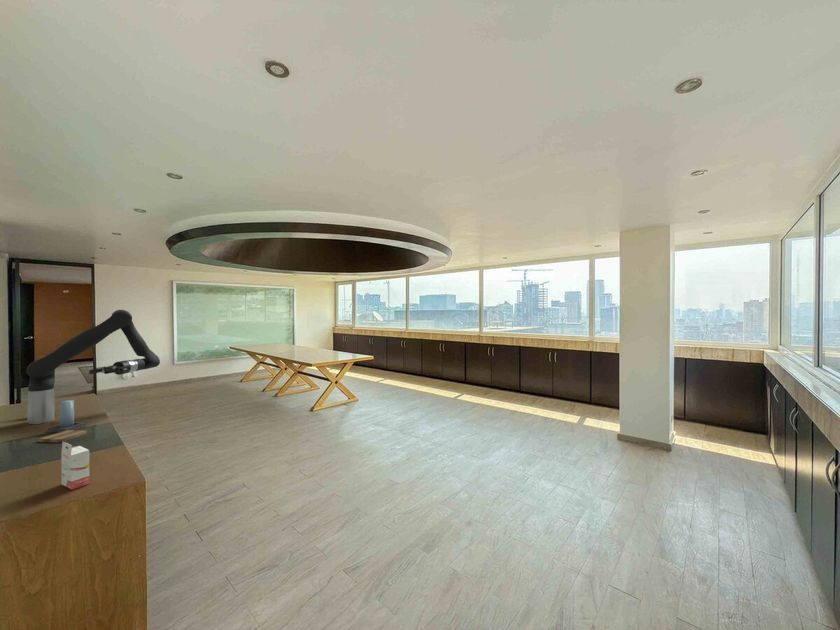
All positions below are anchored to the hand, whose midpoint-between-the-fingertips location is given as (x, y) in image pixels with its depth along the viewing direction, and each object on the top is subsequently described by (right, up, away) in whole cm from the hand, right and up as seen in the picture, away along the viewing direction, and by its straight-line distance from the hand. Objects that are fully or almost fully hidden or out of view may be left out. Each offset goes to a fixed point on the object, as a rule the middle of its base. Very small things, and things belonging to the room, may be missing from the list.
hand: (97, 372), depth 182 cm
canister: (-5, -27, -11) cm, 29 cm away
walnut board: (+5, -27, -22) cm, 35 cm away
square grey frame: (-5, -27, -11) cm, 29 cm away
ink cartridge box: (+54, -28, -65) cm, 89 cm away
